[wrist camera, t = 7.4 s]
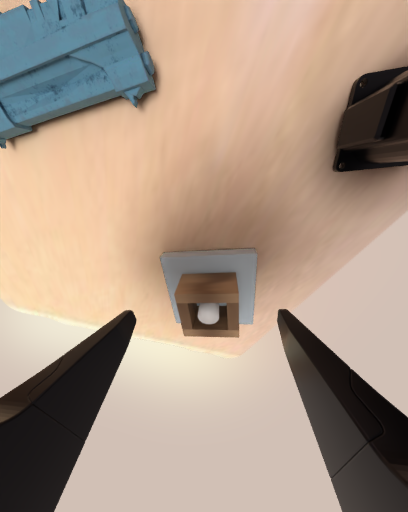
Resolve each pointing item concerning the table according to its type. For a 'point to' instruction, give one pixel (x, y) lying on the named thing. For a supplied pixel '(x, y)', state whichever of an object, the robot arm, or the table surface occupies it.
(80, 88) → the toy gun
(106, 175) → the table surface
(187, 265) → the peg base
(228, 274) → the collar
